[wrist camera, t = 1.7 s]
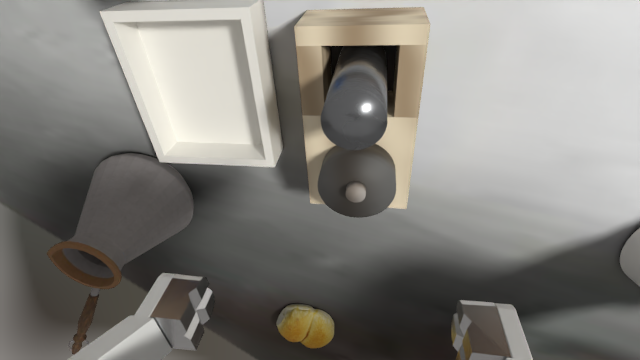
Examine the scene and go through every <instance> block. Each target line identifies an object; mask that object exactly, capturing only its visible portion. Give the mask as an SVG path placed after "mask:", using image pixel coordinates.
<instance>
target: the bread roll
mask: <svg viewBox="0 0 640 360" xmlns="http://www.w3.org/2000/svg"><path fill="white" fill-rule="evenodd" d="M276 325H277V327H278V330H279V332H280V334H281V335H282V336H283V337H284V338H285V339H286V340H288V341H290V342H299V341H300V342H301V343H302V344H303V345H305V346H306V347H308V348H320V347H323V346H325V345H326V344H328V343H329V342H330V341H331V340H332V338H333V336H334V322H333V320H332V318H331V317H330V315H329V314H327V313H326V312H324V311H323V310H320V309H314V308H313V307H311V306H310V305H305V304H291V305H288V306H287V307H285V308H284V309H283V310H282V312H281V313H280V315H279V316H278V319H277V322H276Z"/></svg>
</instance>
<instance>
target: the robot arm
mask: <svg viewBox="0 0 640 360" xmlns="http://www.w3.org/2000/svg"><path fill="white" fill-rule="evenodd" d="M620 265H621V268H622V270H623V272H624V273H625V274H626V275H627V276H628V277H629V278H630V279H631V280H632V281H634V282H635V283H636V284H637V285H638V286H639V287H640V228H639V229H638V230H637V231H636V232H634V233H633V234H632V236H631V237H630V238H629V239H628V240H627V242H626V243H625V245H624V247H623V249H622V251H621V255H620ZM208 285H209V281H208V279H207V277H199V276H190V275H180V274H171V273H162V274H161V275H160V276H159V277H158V278H157V280H156V281H155V283H154V284H153V286H152V288H151V289H150V291H149V292H148V294H147V296H146V297H145V299H144V301H143V302H142V304H141V305H140V307H139V309H138V310H137V312H136V313H135V315H134V316H132V315H131V316H129V317H127V318H126V319H124V320H123V321H121V322H120V323H119V324H117V325H116V326H115V327H113V328H111V329H110V330H109V331H107V332H106V333H104V334H103V335H102V336H100V337H99V338H97V339H96V340H94V341H93V342H92V343H90V344H89V345H87V346H86V347H85V348H83V349H82V350H80V351H79V352H77V353H76V354H75V355H73V356H72V357H70V358H69V359H68V360H162V359H163V358H164V357H165V356H166V355H167V354H168V353H169V352H170V351H171V350H172V348H174V349H185V350H197V347H198V345H199V343H200V340H201V338H202V336H203V333H204V328H203V324H204V323H205V322H207V321H208V320H209V319H210V317H211V315H212V312H213V308H214V303H215V300H214V294H213V291H211V290H210V289H209V288H208ZM456 309H457V313H456V314H454V315H453V318H452V323H451V336H452V343H453V346H454V348H455V349H456V350H457V351H458V354H457V357H456V360H533V359H532V356H531V353H530V350H529V347H528V344H527V341H526V338H525V335H524V332H523V329H522V327H521V324H520V321H519V318H518V315H517V312H516V309H515V308H514V306H513V305H511V304H498V303H492V302H479V301H466V300H459V301H458V302H457V305H456Z"/></svg>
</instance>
